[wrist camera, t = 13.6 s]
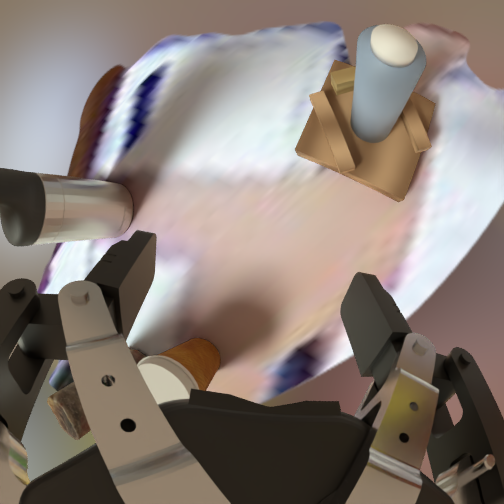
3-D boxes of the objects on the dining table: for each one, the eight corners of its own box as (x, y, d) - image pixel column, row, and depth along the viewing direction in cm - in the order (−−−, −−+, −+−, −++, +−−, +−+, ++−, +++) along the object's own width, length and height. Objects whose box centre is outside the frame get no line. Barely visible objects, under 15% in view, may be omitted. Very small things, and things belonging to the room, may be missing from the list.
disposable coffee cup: (165, 354, 43) (120, 386, 32) (194, 315, 41) (146, 344, 30) (209, 392, 42) (173, 435, 30) (243, 357, 39) (209, 401, 28)
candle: (155, 390, 45) (82, 449, 26) (124, 376, 47) (50, 424, 28) (154, 355, 44) (70, 411, 25) (122, 342, 46) (38, 385, 27)
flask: (344, 132, 30) (348, 51, 14) (357, 98, 29) (367, 7, 13) (383, 149, 29) (423, 83, 12) (395, 115, 28) (434, 34, 11)
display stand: (291, 157, 35) (282, 145, 29) (331, 65, 32) (329, 42, 26) (401, 209, 32) (413, 206, 26) (434, 110, 29) (448, 93, 23)
